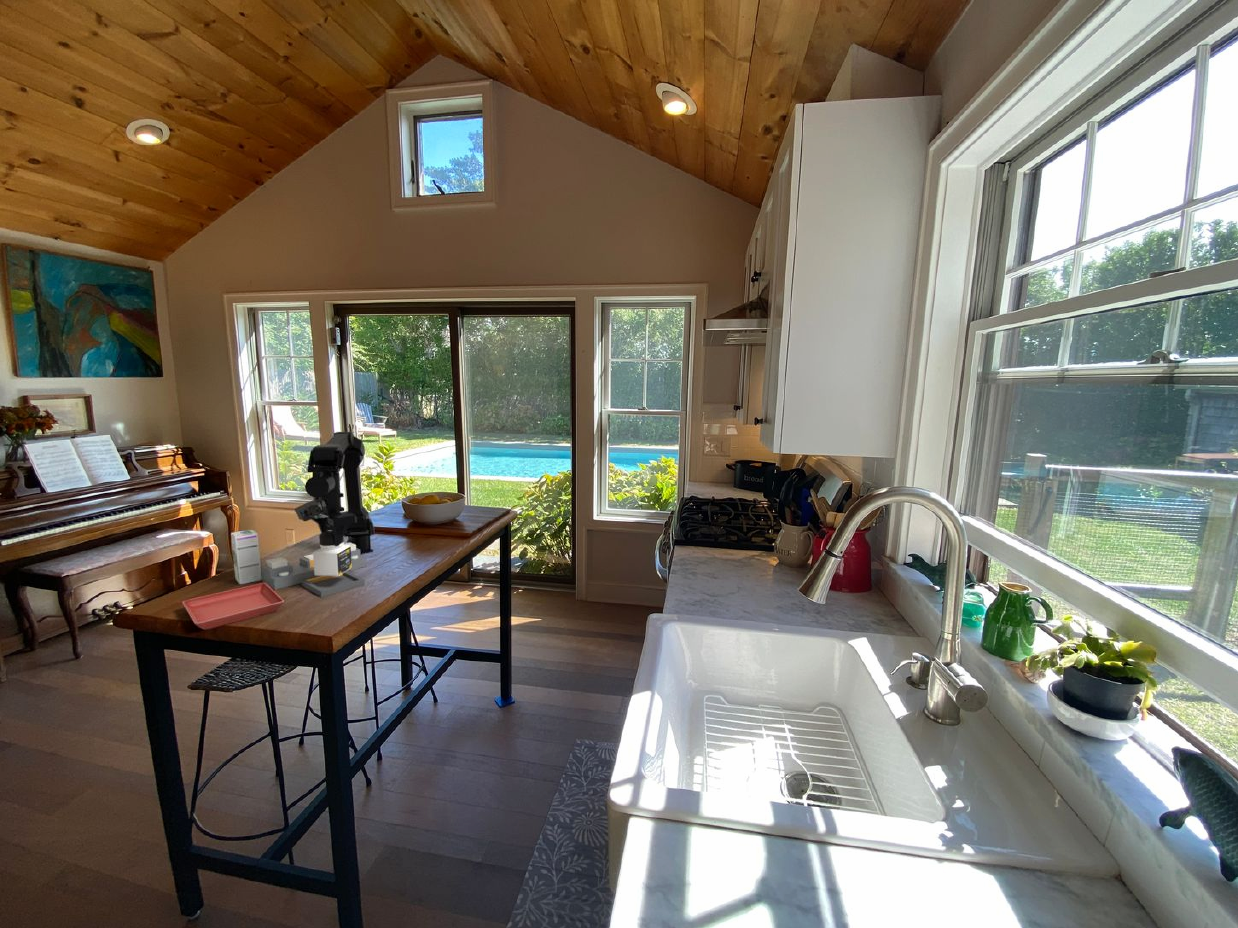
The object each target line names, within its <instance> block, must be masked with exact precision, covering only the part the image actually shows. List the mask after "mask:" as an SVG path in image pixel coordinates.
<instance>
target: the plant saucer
mask: <svg viewBox="0 0 1238 928" xmlns="http://www.w3.org/2000/svg"><path fill="white" fill-rule="evenodd" d="M284 602H285V600H284V599H283V598H282V597H281V596H280V595H279V594H278V593H277V592H276V590H274V589H273V588H271V587H270V586H268V585H267V584H266V583H263V582H260V583H256V584H255V583H254V584H251V585H247V586H242V587H238V588H234V589H229V590H226V591H225V590H224V591H220V592H216V593H212V594H208V595H202V596H198V597H194V598H190V599H186V600H183V601H181V603H182V605H183V606H184V608H185V610H186V612H187V613H188V615H189V616H190V618H191V620H192V622H193V623H194V625H196V626H197V627H198V628H199V629H202V630H204V631H205V630H210V629H213V628H214V629H215V628H217V627H221V626H226V625H229V623H230V624H233V622H234V623H237V622H240V621H241V622H242V621H245V620H249V619H253V618H257V617H260V616H265V615H269V614H272V613H275V612H276V611H277V610H278V609H279V608H280V607H281V605H282V604H283V603H284ZM252 617H253V618H252ZM225 624H226V625H225Z"/></svg>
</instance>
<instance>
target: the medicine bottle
mask: <svg viewBox="0 0 1238 928" xmlns="http://www.w3.org/2000/svg"><path fill="white" fill-rule="evenodd" d="M344 538H345V537H344V536H343V539H342V541H341V543H340V545H339V546H335V544H334V540H333V535H332V531H331V530H330V531H325V532H323V533H321V532H320V534H319V547H320V548H318V549H316V550H314V551H313V552H312V554H313V559H314V575H315V576H340V575H341V574H343V573H344V572H346V571H347V572H349V571H348V570H349V569H351V568H352V563H351V546H350V545H344V544H345V540H344Z"/></svg>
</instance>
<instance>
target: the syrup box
mask: <svg viewBox="0 0 1238 928" xmlns="http://www.w3.org/2000/svg"><path fill="white" fill-rule="evenodd" d="M258 535H259V534H258V533H257V532H256V531H255V530H254V529H243V530H240V531H235V532H231V533H230V537H231V549H232V559H233V569H234V579H235V580H236V582H237V583H238V584H239V585H244V584H249V583H250V582H251V583H254V582H259V581H263V579H262V565H261V554H260V552H261V551H260V546H259V545H260V544H259V543H260V542H259V536H258ZM251 583H250V584H251Z"/></svg>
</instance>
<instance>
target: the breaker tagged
mask: <svg viewBox="0 0 1238 928" xmlns="http://www.w3.org/2000/svg"><path fill="white" fill-rule="evenodd" d="M303 557H304V559H307V560H309V561H310V560H314V559H313V553H312V554H307V555H304V556H303Z"/></svg>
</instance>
